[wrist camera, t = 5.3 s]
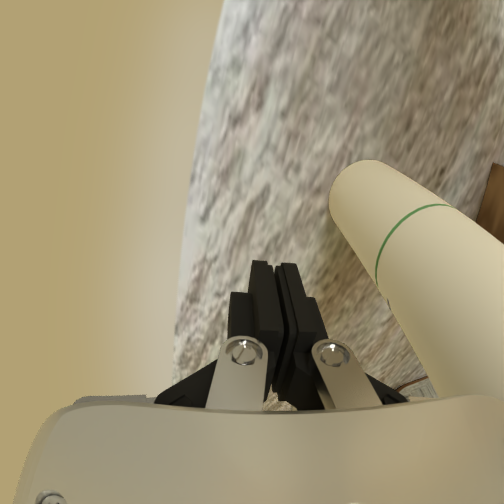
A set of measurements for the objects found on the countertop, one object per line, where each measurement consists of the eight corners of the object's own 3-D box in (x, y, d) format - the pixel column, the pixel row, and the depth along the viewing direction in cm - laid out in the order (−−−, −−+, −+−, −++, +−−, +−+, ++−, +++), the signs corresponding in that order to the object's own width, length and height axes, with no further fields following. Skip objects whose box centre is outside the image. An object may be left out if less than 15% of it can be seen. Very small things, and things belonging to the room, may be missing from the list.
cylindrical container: (351, 249, 29) (485, 515, 7) (313, 188, 26) (492, 505, 4) (412, 209, 27) (602, 422, 5) (382, 144, 25) (654, 344, 3)
